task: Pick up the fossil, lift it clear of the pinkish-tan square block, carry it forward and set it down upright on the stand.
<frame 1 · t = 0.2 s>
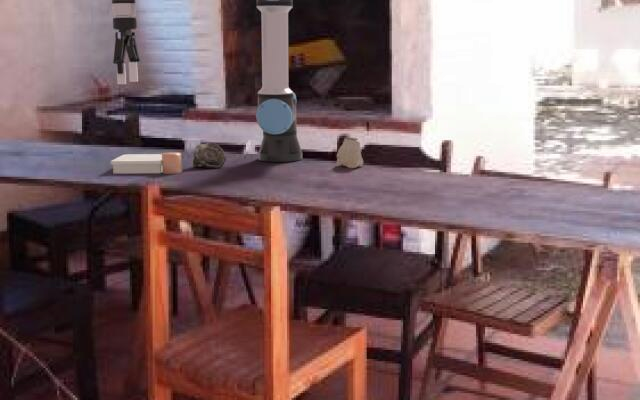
hand: (128, 83, 303), 28 cm above the table, fingers open, 13 cm apart
beige rough lump: (348, 167, 300), on the table
fossil: (209, 168, 303), on the table
stand: (142, 169, 299), on the table
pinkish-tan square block: (172, 172, 293), on the table, touching stand
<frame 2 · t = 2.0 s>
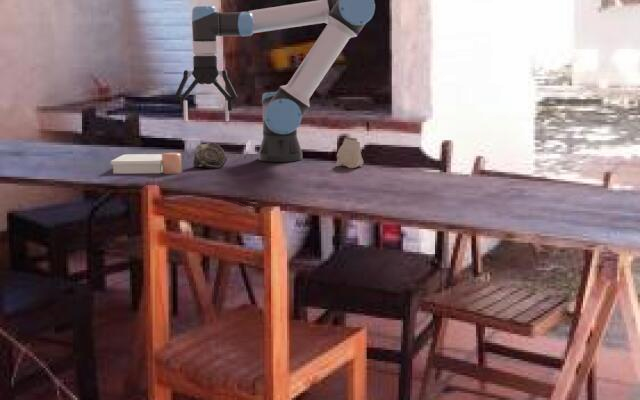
hand: (206, 121, 300), 15 cm above the table, fingers open, 13 cm apart
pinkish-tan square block: (172, 172, 293), on the table
everything else where it was.
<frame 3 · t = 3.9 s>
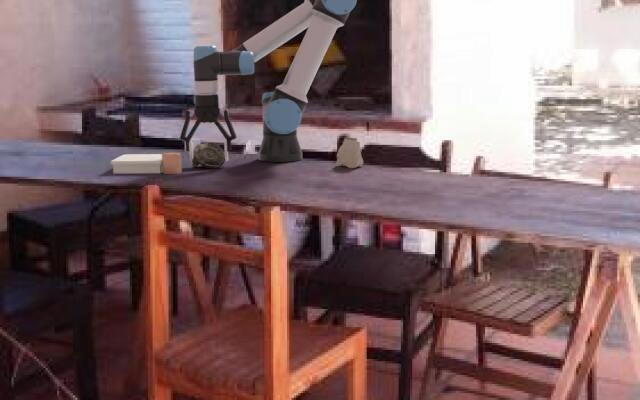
hand: (209, 161, 303), 2 cm above the table, fingers closed on fossil, 11 cm apart
fossil: (208, 167, 303), on the table, touching gripper
everything else where it was.
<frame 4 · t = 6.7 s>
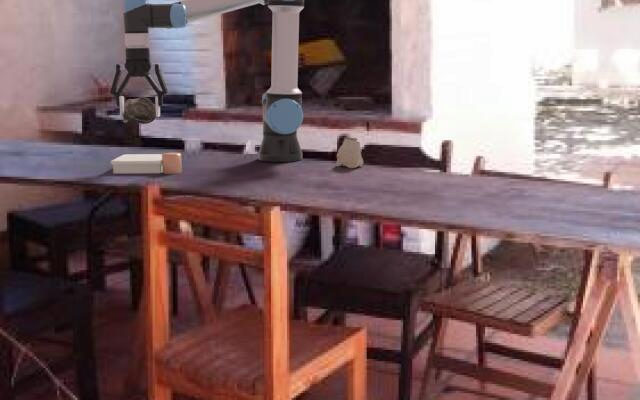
hand: (140, 116, 296), 17 cm above the table, fingers closed on fossil, 11 cm apart
fossil: (139, 123, 296), point 15 cm above the table, touching gripper
everything else where it was.
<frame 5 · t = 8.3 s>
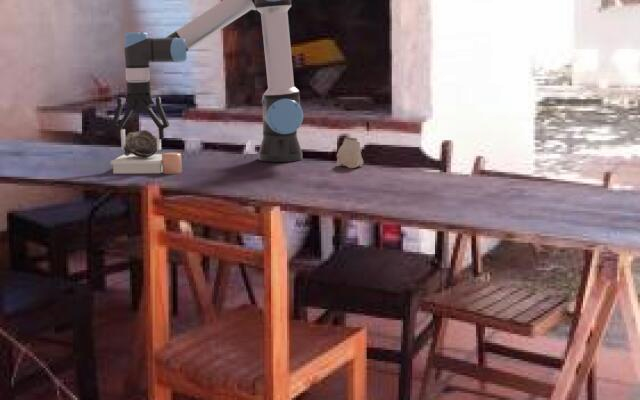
hand: (141, 149, 298), 7 cm above the table, fingers closed on fossil, 11 cm apart
fossil: (141, 156, 298), point 4 cm above the table, touching gripper
everything else where it was.
when the fingers open (6 cm above the table, at t = 9.7 s): fossil stays where it is, resting on stand.
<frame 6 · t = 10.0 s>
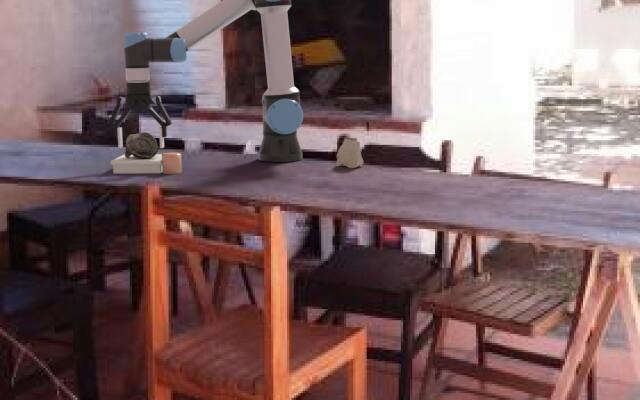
hand: (141, 147, 298), 7 cm above the table, fingers open, 13 cm apart
fossil: (141, 158, 298), point 4 cm above the table, touching stand
everything else where it was.
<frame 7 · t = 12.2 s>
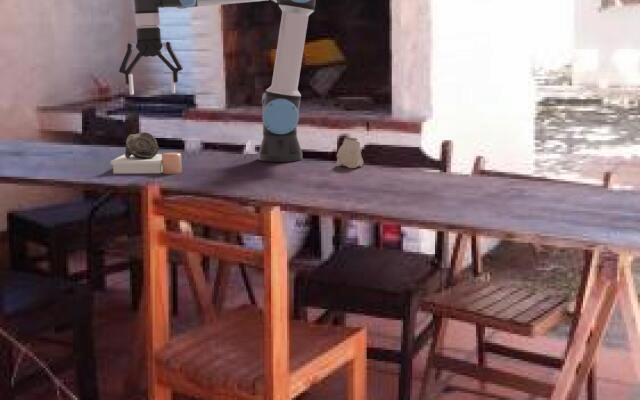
hand: (152, 93, 299), 24 cm above the table, fingers open, 13 cm apart
nothing on the table moved.
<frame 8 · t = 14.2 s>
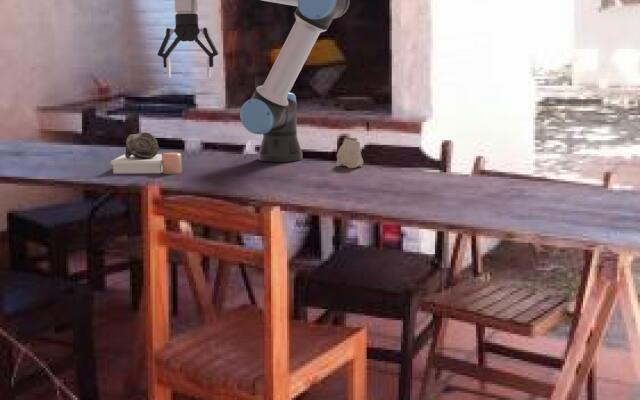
hand: (189, 77, 311), 29 cm above the table, fingers open, 13 cm apart
nothing on the table moved.
at the end: fossil inside the target area on the stand (0.4 cm from its centre), point 3.8 cm above the stand's base; fossil tilted 1°; the gripper is holding nothing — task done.
